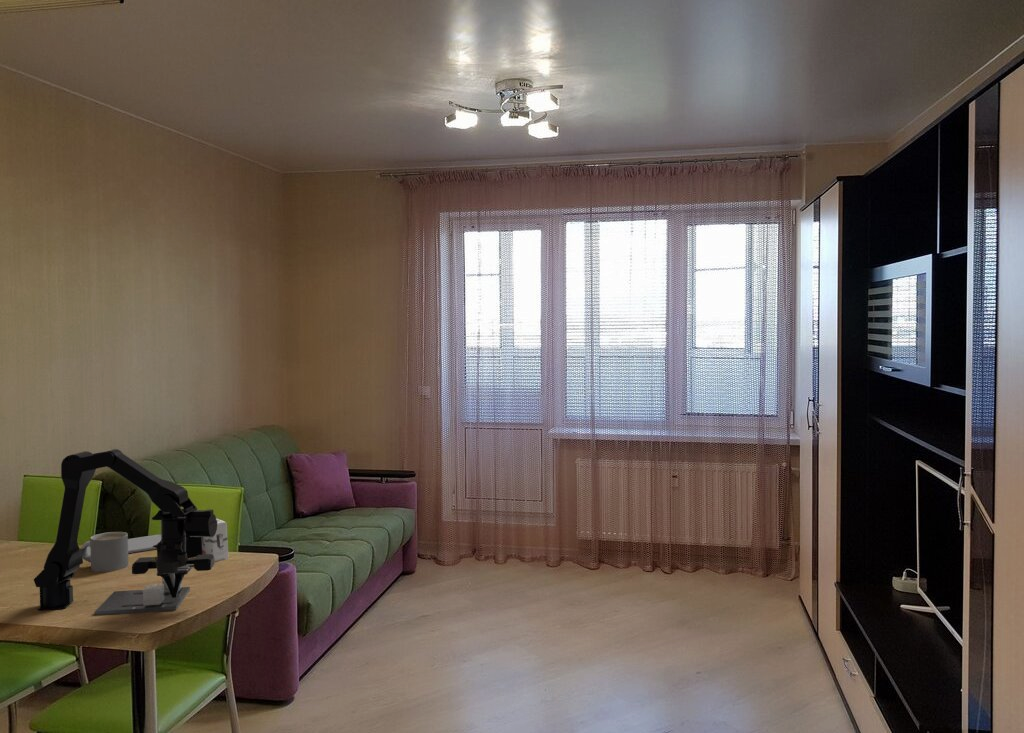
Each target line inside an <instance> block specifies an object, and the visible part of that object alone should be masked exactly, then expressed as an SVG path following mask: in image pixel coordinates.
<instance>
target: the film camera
mask: <svg viewBox="0 0 1024 733" xmlns="http://www.w3.org/2000/svg"><path fill="white" fill-rule="evenodd" d="M153 547H155V548H157V549H156V556H157V557H156V559H157V558H158V555H159V552H160V549H161V548H160V547H161V541H160V542H159V543H158V544H157V545H154V546H153ZM186 553H187V557H188V559H194V558H196V557H197V556H198V555H202V537H189V535H186Z"/></svg>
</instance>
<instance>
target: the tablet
mask: <svg viewBox="0 0 1024 733" xmlns="http://www.w3.org/2000/svg"><path fill="white" fill-rule="evenodd" d="M160 541H161V534H153V535H147V536H139V537H133V538H128V555H129V554H133V553H142V552H146V551H153V550H157V548H155V547H153V546H154V545H157V544H158V543H159V542H160ZM87 554H88V555H89V556H91V549H90V547H89V546H88V547H87Z"/></svg>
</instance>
